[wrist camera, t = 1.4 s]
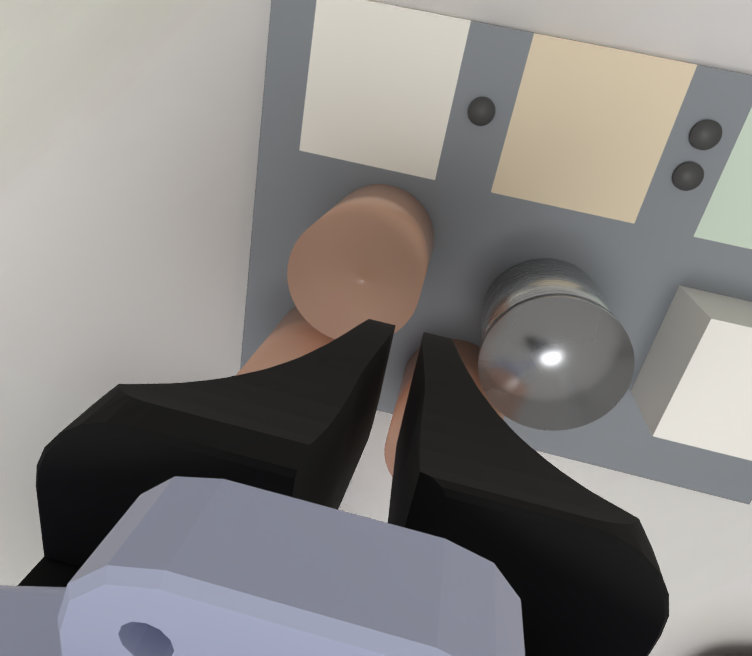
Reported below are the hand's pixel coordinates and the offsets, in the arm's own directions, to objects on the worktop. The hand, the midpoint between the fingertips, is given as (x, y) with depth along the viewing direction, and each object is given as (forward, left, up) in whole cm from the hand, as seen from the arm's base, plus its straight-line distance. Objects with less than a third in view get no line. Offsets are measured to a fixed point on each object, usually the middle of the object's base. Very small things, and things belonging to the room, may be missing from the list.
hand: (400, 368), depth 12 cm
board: (0, -4, -10) cm, 11 cm away
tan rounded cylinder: (0, +2, -9) cm, 10 cm away
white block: (-1, -11, -9) cm, 14 cm away
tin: (-1, -4, -9) cm, 10 cm away
